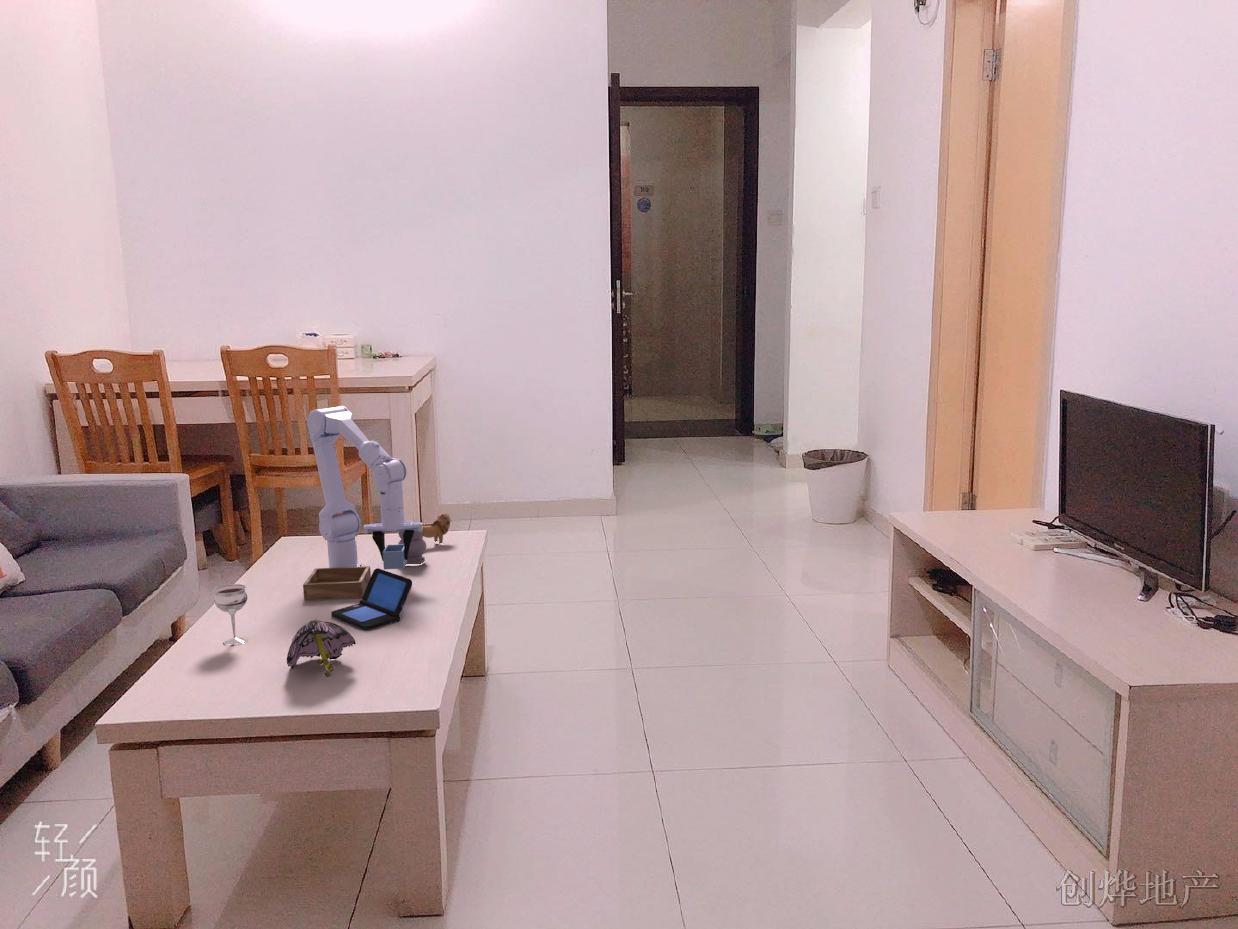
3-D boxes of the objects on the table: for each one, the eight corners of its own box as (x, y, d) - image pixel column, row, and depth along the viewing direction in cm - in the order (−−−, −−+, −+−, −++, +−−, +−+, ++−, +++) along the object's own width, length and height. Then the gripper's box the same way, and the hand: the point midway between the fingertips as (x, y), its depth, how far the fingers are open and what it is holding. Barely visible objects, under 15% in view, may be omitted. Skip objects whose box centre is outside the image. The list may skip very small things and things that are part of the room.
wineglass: (218, 639, 224) (213, 586, 222) (251, 634, 227) (246, 582, 224) (218, 649, 218) (213, 595, 216) (252, 644, 220) (247, 591, 218)
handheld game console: (329, 618, 237) (326, 579, 236) (378, 603, 247) (375, 566, 245) (366, 633, 227) (363, 593, 225) (416, 617, 236) (414, 579, 235)
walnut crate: (316, 583, 263) (314, 568, 262) (371, 581, 264) (370, 566, 264) (304, 600, 249) (302, 584, 249) (362, 597, 251) (361, 582, 250)
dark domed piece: (352, 607, 213) (338, 609, 198) (370, 660, 212) (356, 667, 197) (284, 630, 212) (265, 635, 197) (301, 684, 211) (283, 692, 196)
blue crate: (387, 561, 264) (386, 544, 263) (407, 560, 265) (406, 544, 264) (383, 569, 257) (382, 552, 257) (403, 568, 258) (402, 551, 257)
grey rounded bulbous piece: (396, 560, 283) (394, 518, 280) (425, 557, 285) (422, 516, 283) (399, 569, 275) (397, 525, 272) (429, 566, 277) (426, 523, 275)
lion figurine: (446, 540, 303) (444, 510, 302) (455, 543, 299) (454, 513, 298) (402, 549, 294) (400, 519, 292) (411, 553, 290) (409, 522, 288)
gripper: (360, 512, 254) (363, 564, 256) (419, 510, 255) (422, 562, 257) (364, 505, 261) (368, 557, 263) (422, 503, 262) (425, 554, 264)
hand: (395, 559), depth 261 cm, fingers closed on blue crate, 5 cm apart
